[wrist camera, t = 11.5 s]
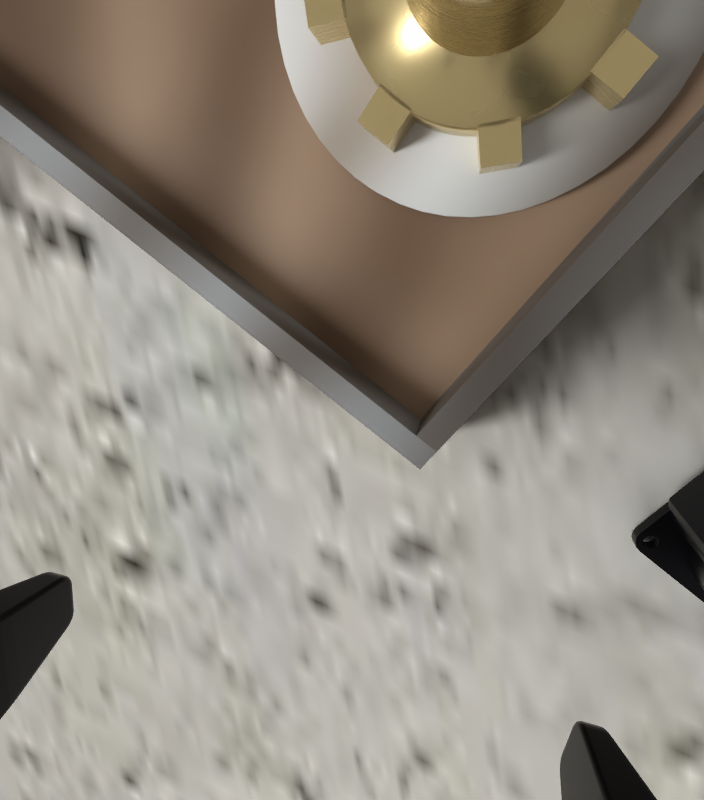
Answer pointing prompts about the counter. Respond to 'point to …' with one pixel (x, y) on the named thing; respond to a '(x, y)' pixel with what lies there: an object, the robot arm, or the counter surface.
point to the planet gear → (483, 63)
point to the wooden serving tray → (346, 190)
